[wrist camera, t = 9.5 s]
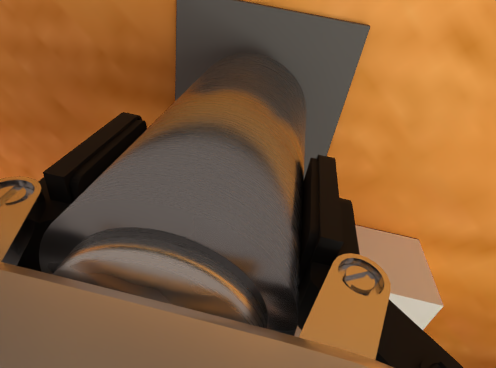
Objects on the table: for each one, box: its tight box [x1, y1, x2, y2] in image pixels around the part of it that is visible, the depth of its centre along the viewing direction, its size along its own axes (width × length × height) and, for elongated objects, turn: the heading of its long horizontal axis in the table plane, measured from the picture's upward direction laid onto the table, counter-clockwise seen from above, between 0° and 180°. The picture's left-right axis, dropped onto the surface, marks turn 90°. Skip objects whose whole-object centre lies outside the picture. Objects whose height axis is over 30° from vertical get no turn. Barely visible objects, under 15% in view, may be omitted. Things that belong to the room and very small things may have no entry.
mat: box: [175, 0, 370, 181], centre depth 17 cm, size 9×9×1 cm
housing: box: [294, 225, 444, 337], centre depth 24 cm, size 16×16×5 cm
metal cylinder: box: [39, 53, 306, 336], centre depth 11 cm, size 6×6×12 cm
